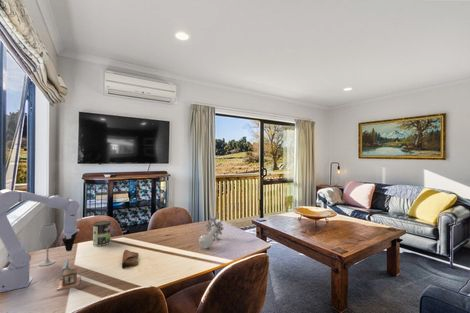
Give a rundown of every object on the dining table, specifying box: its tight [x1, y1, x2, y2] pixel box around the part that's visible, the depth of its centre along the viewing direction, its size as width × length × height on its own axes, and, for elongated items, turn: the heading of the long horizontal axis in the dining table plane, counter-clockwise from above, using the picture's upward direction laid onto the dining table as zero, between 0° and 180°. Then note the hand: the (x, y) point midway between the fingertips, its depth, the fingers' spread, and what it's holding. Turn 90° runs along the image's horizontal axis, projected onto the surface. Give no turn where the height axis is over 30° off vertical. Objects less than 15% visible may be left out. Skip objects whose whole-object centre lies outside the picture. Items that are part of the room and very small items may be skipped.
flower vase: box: [198, 216, 224, 250], centre depth 154 cm, size 13×18×25 cm
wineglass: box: [38, 222, 58, 267], centre depth 123 cm, size 8×8×21 cm
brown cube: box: [61, 267, 78, 286], centre depth 103 cm, size 5×5×5 cm
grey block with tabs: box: [59, 258, 71, 281], centre depth 111 cm, size 3×12×6 cm, turn 32°
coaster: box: [56, 275, 81, 291], centre depth 103 cm, size 8×8×1 cm
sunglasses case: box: [121, 249, 139, 269], centre depth 128 cm, size 18×7×7 cm, turn 25°
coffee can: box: [92, 220, 112, 247], centre depth 152 cm, size 10×10×14 cm
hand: (69, 248), depth 118 cm, fingers open, 7 cm apart
